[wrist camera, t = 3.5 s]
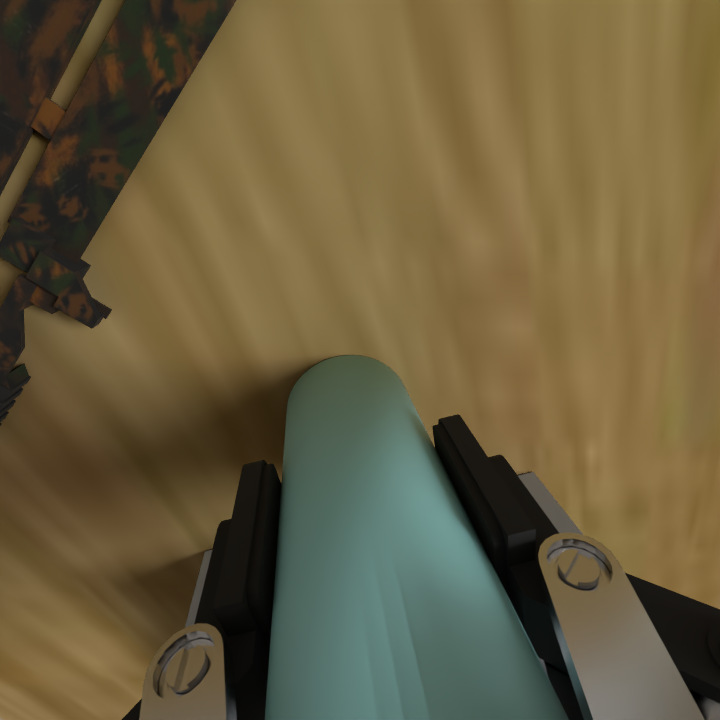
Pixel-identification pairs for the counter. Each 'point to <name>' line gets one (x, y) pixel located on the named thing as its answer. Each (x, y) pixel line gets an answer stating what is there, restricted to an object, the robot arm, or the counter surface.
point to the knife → (81, 140)
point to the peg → (385, 571)
